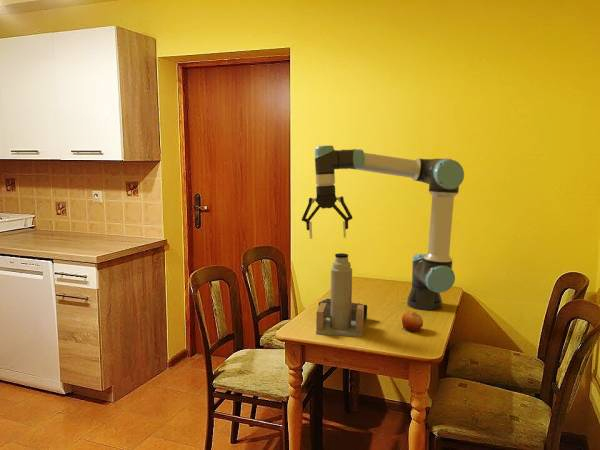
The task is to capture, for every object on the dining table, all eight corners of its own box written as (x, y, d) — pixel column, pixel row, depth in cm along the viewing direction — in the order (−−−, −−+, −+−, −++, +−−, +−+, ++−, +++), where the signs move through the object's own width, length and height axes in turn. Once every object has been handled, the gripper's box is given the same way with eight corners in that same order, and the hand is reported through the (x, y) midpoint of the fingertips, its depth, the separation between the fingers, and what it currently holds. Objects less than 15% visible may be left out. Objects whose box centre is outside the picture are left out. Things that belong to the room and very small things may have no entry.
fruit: (403, 320, 203) (413, 305, 200) (418, 334, 200) (429, 319, 196) (393, 325, 197) (403, 310, 193) (408, 340, 193) (419, 324, 190)
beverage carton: (327, 311, 220) (327, 296, 219) (368, 319, 210) (368, 303, 209) (317, 316, 214) (317, 300, 213) (359, 324, 203) (359, 308, 202)
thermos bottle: (352, 323, 200) (353, 252, 196) (349, 330, 192) (351, 256, 188) (331, 321, 202) (332, 251, 198) (328, 328, 194) (329, 255, 190)
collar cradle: (363, 324, 203) (364, 304, 201) (361, 336, 189) (362, 315, 188) (320, 321, 205) (320, 301, 204) (315, 333, 192) (316, 312, 191)
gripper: (357, 183, 207) (359, 235, 209) (295, 185, 210) (298, 237, 212) (357, 184, 199) (358, 238, 202) (293, 186, 202) (295, 240, 205)
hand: (327, 237), depth 207 cm, fingers open, 13 cm apart
